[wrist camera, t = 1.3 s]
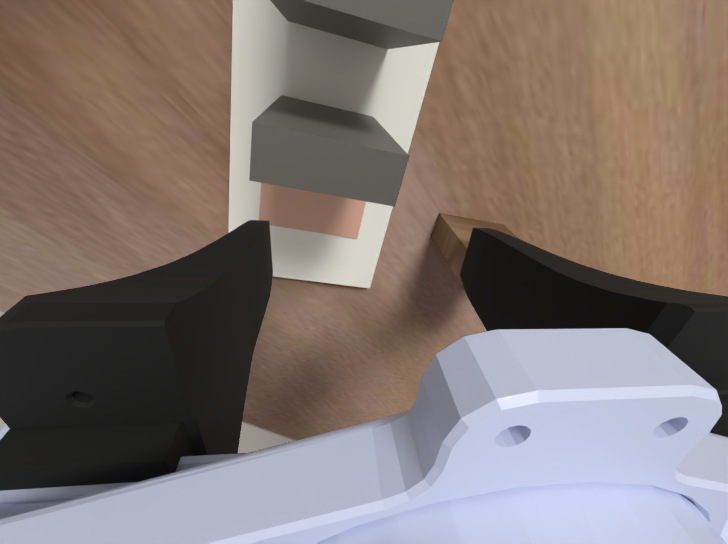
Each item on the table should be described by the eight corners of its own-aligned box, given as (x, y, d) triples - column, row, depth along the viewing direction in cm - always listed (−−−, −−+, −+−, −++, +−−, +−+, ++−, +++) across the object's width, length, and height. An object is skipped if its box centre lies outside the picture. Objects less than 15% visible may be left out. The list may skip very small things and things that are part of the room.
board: (368, 283, 25) (369, 289, 25) (229, 266, 23) (227, 271, 23) (609, -584, 10) (628, -624, 9) (255, -870, 8) (250, -947, 7)
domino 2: (365, 149, 20) (394, 206, 12) (278, 131, 18) (249, 180, 11) (373, 116, 19) (409, 155, 11) (281, 94, 18) (252, 122, 10)
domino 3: (493, 246, 25) (568, 328, 17) (430, 236, 24) (482, 318, 16) (503, 224, 24) (588, 300, 16) (439, 213, 23) (497, 288, 15)
